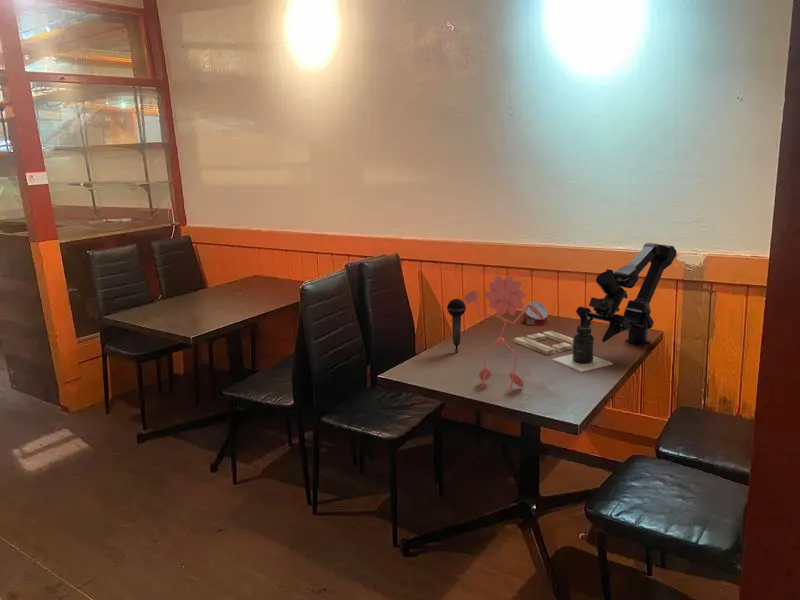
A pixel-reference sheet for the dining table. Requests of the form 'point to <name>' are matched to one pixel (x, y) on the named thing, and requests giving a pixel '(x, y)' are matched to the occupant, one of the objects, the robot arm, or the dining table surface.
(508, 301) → the figurine
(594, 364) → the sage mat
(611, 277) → the robot arm
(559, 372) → the dining table surface
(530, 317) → the canned food
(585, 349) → the supplement bottle
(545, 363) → the dining table surface
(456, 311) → the microphone
